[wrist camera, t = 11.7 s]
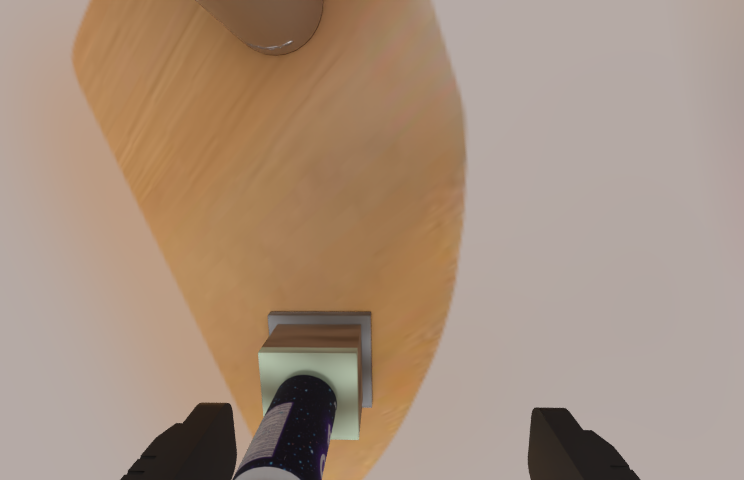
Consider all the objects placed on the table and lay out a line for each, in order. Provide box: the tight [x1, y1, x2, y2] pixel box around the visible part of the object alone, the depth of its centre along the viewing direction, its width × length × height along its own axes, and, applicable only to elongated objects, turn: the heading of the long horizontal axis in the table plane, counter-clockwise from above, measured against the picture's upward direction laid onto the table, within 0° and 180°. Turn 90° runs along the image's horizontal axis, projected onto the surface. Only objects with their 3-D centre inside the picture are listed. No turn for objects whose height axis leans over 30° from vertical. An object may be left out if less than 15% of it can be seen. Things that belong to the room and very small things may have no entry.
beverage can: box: [233, 375, 337, 480], centre depth 27 cm, size 6×6×12 cm
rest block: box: [258, 312, 372, 440], centre depth 37 cm, size 11×11×7 cm
